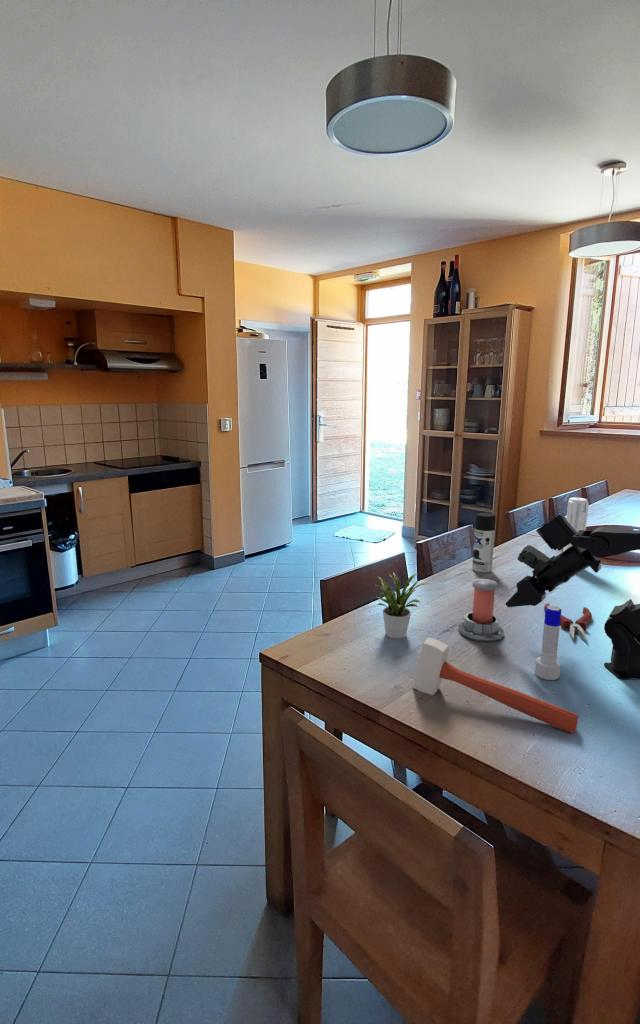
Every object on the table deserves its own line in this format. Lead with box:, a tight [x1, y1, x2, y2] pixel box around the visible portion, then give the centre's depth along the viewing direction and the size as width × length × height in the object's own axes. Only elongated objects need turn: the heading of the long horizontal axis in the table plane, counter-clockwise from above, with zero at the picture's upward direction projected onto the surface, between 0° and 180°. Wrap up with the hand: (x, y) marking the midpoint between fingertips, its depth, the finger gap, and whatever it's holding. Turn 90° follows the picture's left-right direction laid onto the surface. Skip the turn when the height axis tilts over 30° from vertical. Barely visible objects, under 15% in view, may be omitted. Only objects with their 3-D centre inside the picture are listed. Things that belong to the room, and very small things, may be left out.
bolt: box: [534, 605, 562, 681], centre depth 115 cm, size 16×5×5 cm
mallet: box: [411, 637, 579, 734], centre depth 104 cm, size 11×4×30 cm
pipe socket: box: [457, 610, 505, 643], centre depth 137 cm, size 11×11×4 cm
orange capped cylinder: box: [471, 578, 498, 624], centre depth 136 cm, size 6×6×12 cm
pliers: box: [543, 603, 593, 642], centre depth 141 cm, size 12×21×3 cm, turn 165°
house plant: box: [376, 571, 429, 640], centre depth 135 cm, size 14×14×16 cm
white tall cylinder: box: [562, 497, 590, 552], centre depth 187 cm, size 6×6×25 cm
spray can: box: [471, 512, 496, 574], centre depth 185 cm, size 7×7×20 cm
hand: (513, 599), depth 131 cm, fingers open, 9 cm apart
